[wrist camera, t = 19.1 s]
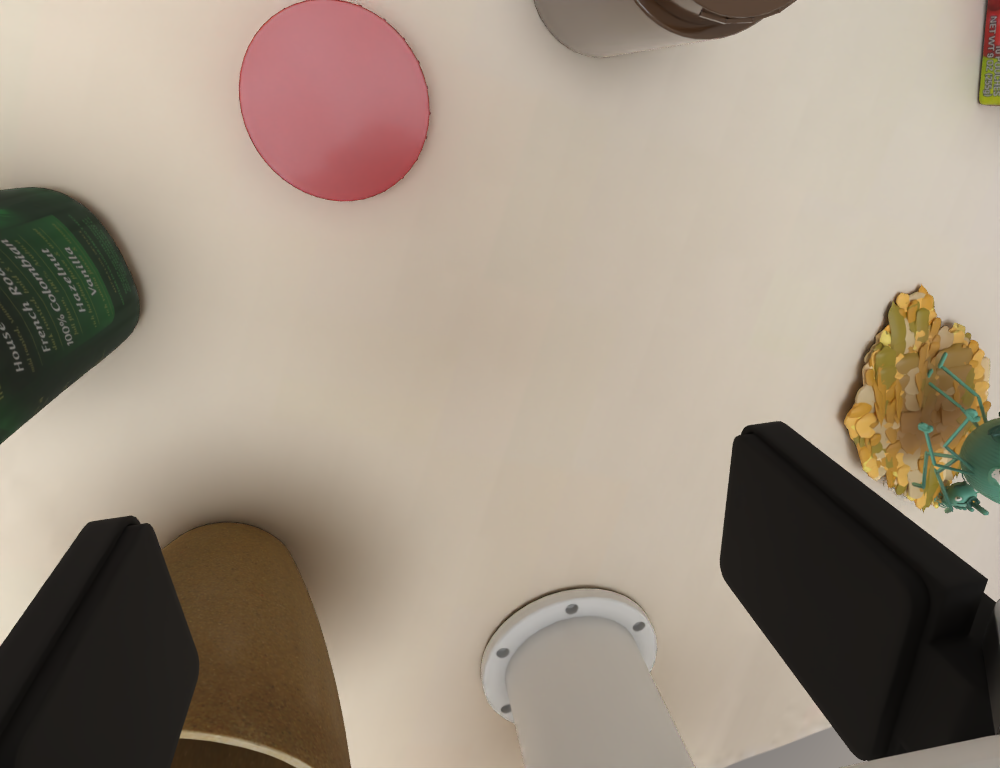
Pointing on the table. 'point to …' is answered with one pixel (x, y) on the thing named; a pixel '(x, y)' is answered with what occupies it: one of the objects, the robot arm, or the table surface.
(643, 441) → the table surface
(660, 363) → the table surface
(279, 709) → the plant pot
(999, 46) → the snack box
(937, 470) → the yellow green lumpy piece
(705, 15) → the jar
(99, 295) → the coffee jar
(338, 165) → the lid
